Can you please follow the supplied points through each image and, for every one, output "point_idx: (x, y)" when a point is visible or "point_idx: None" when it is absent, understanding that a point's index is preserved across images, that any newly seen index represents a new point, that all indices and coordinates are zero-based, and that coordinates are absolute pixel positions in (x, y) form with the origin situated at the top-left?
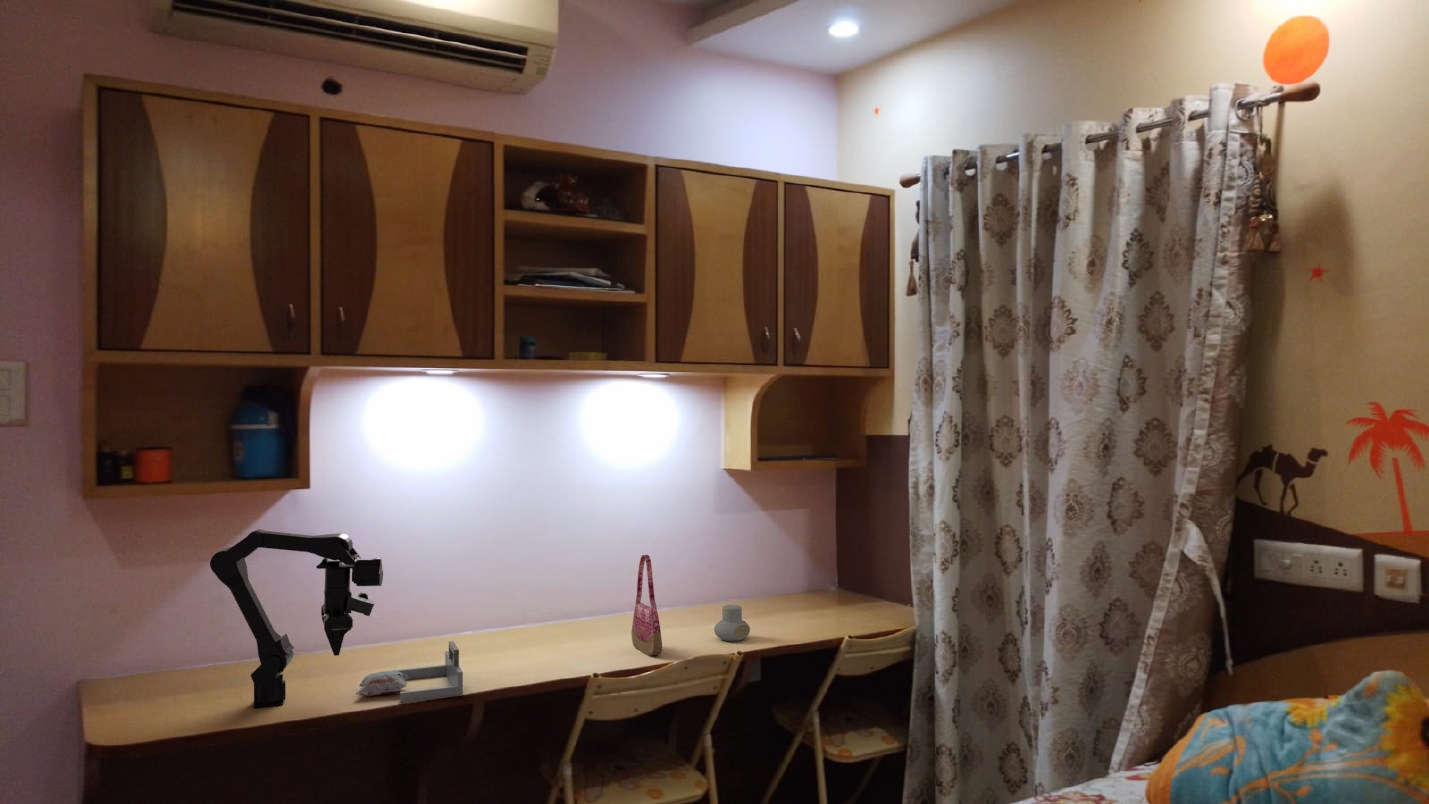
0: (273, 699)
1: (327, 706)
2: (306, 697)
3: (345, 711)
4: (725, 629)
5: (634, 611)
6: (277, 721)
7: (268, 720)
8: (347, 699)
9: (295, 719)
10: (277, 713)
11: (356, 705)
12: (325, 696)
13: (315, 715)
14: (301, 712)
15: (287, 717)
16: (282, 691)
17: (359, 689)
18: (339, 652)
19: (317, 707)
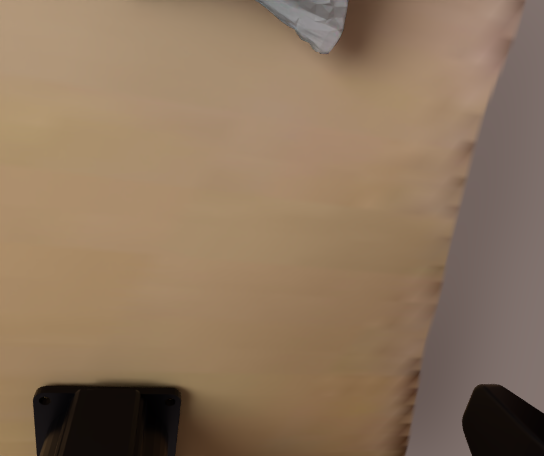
0: (162, 442)
1: (311, 210)
2: (67, 288)
3: (466, 139)
4: None
5: None
6: (397, 401)
7: (361, 426)
8: (232, 84)
9: (420, 347)
10: (285, 401)
11: (398, 57)
12: (92, 196)
13: (424, 275)
14: (334, 323)
15: (370, 371)
16: (139, 439)
17: (296, 17)
18: (536, 409)
19: (298, 256)
